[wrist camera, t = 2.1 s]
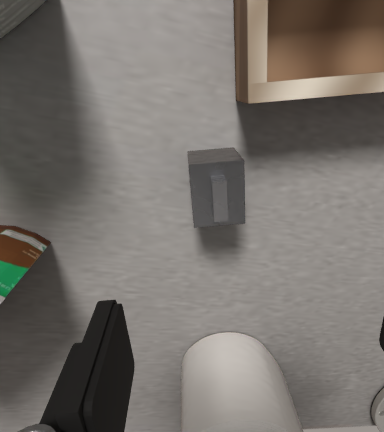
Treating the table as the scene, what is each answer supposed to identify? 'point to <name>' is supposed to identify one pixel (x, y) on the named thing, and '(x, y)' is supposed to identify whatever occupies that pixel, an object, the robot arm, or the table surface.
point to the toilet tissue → (234, 388)
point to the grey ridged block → (217, 187)
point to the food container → (17, 255)
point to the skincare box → (15, 13)
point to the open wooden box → (307, 48)
